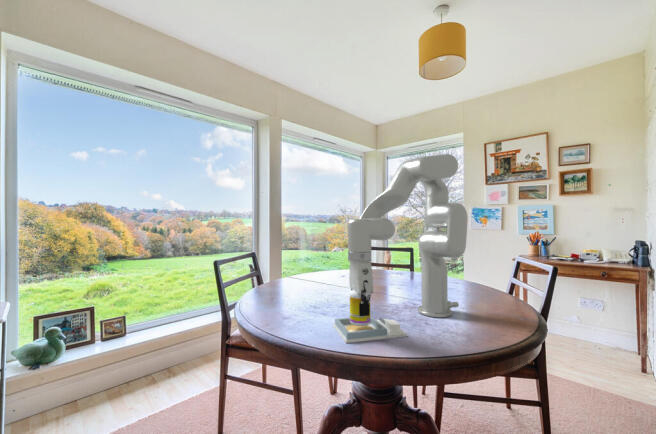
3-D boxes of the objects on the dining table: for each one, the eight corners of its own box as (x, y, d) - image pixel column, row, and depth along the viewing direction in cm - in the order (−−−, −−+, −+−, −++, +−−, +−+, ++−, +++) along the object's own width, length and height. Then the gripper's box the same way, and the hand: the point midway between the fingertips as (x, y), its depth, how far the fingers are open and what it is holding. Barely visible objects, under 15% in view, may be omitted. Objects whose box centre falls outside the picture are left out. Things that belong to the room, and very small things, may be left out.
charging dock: (387, 321, 104) (387, 312, 104) (407, 336, 90) (407, 325, 91) (333, 326, 99) (333, 316, 99) (345, 343, 86) (345, 332, 86)
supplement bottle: (369, 327, 90) (369, 286, 90) (348, 326, 92) (348, 285, 92) (371, 320, 97) (370, 281, 97) (351, 319, 98) (350, 280, 98)
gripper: (381, 259, 87) (382, 319, 87) (361, 253, 104) (361, 303, 104) (358, 261, 85) (358, 322, 85) (340, 254, 102) (341, 305, 102)
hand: (360, 311), depth 94 cm, fingers closed on supplement bottle, 6 cm apart
